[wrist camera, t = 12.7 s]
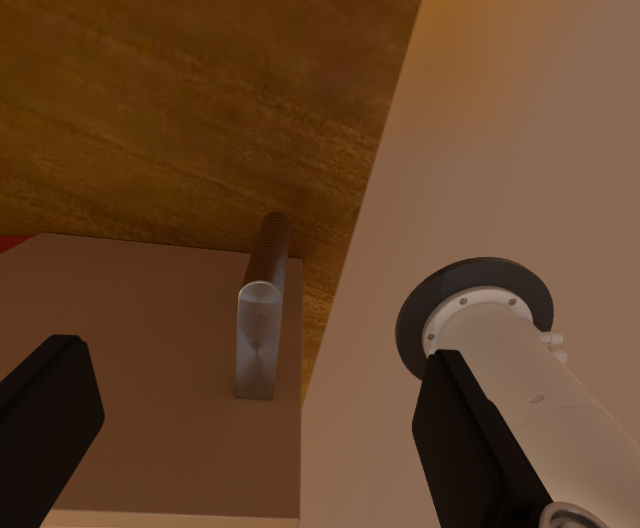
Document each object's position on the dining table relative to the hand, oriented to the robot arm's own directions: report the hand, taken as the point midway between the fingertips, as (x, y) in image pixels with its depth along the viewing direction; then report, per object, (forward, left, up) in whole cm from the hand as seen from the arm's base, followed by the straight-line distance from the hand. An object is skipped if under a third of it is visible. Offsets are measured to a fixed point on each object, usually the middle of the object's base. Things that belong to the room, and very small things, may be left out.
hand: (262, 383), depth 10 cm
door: (+11, +3, -24) cm, 27 cm away
